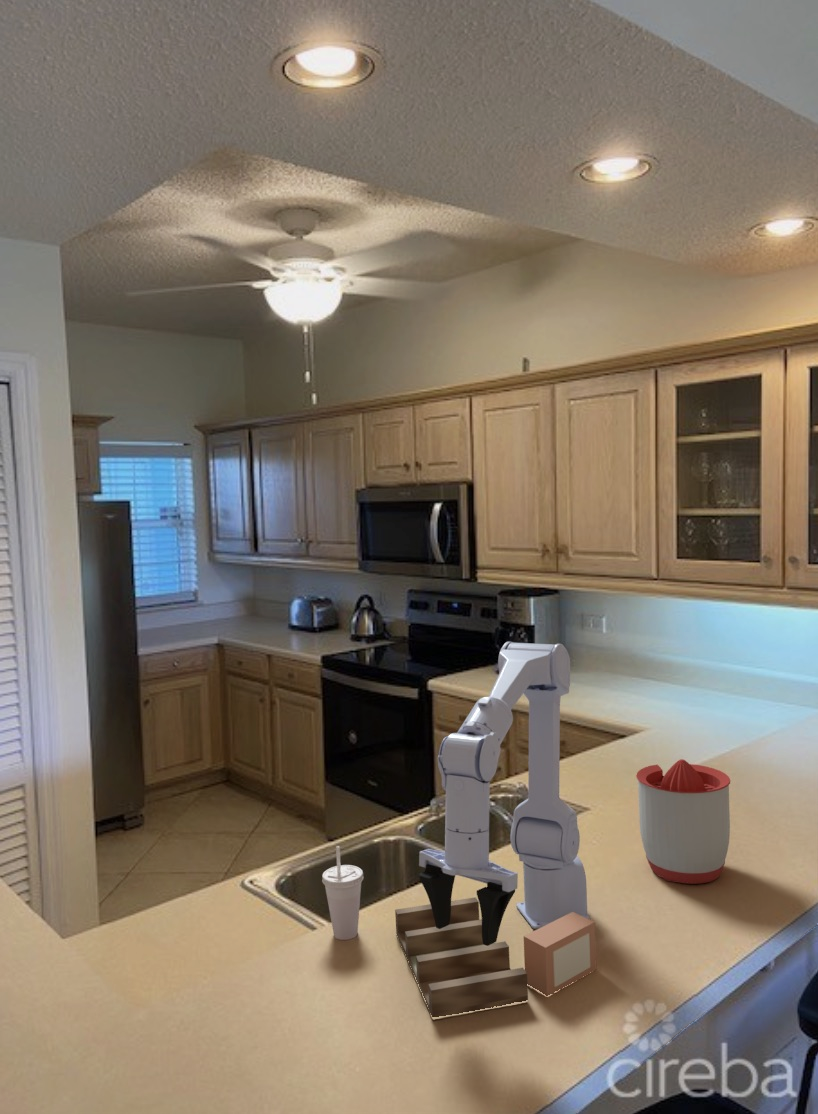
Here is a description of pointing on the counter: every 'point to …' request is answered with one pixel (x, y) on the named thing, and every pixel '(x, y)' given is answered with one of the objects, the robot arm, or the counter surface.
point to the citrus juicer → (684, 821)
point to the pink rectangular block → (560, 953)
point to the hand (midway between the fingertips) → (465, 934)
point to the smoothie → (343, 897)
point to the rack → (458, 960)
